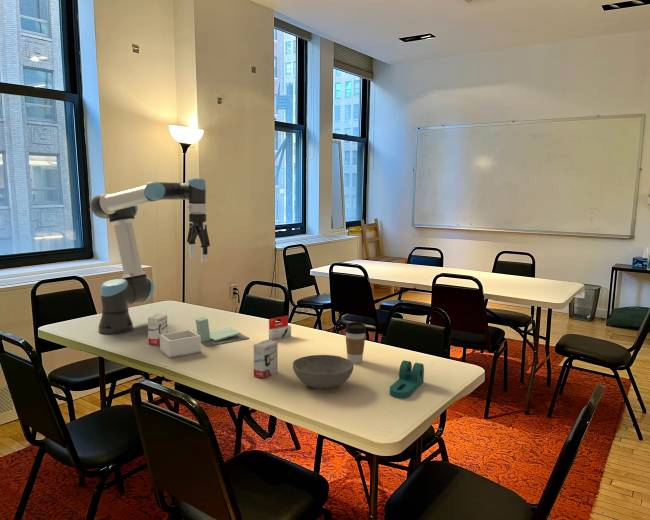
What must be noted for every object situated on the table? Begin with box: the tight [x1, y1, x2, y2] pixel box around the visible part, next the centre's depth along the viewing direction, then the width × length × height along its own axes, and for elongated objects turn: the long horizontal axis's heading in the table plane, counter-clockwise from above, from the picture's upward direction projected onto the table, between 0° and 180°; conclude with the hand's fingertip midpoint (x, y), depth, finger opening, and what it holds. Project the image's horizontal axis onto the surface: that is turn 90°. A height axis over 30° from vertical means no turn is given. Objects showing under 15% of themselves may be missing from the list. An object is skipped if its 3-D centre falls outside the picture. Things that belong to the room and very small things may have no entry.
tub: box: [159, 329, 202, 359], centre depth 204 cm, size 11×13×7 cm
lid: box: [195, 316, 242, 342], centre depth 222 cm, size 11×17×10 cm, turn 127°
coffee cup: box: [344, 321, 367, 365], centre depth 195 cm, size 8×8×15 cm
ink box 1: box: [147, 313, 169, 346], centre depth 216 cm, size 9×5×12 cm, turn 168°
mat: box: [201, 333, 250, 347], centre depth 224 cm, size 16×20×1 cm
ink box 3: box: [268, 315, 292, 342], centre depth 225 cm, size 2×11×10 cm, turn 131°
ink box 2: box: [253, 339, 279, 380], centre depth 180 cm, size 9×5×12 cm, turn 148°
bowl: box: [292, 354, 355, 390], centre depth 171 cm, size 21×21×8 cm
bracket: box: [389, 359, 425, 399], centre depth 169 cm, size 18×7×8 cm, turn 151°
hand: (198, 259), depth 226 cm, fingers open, 13 cm apart
